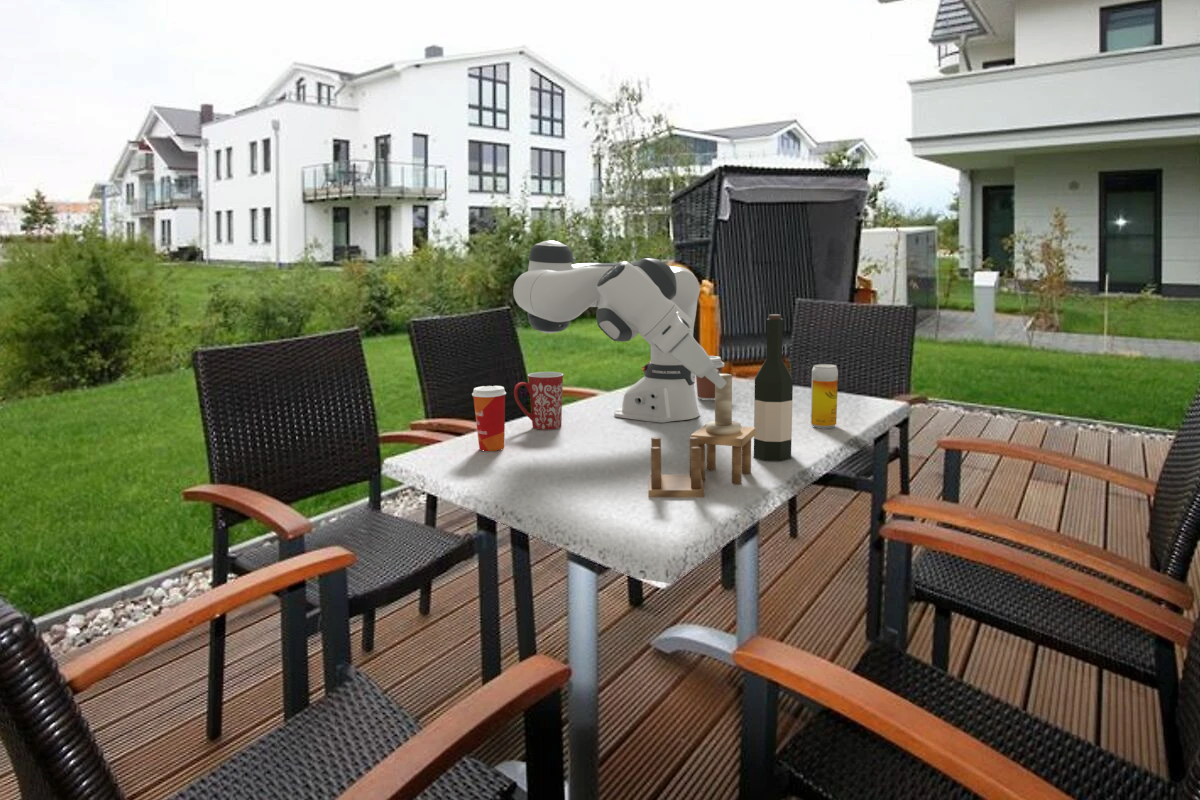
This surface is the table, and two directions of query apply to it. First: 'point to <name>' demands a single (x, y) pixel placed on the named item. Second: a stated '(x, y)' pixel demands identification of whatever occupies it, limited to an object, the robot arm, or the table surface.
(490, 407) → the paper cup
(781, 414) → the wine bottle
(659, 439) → the upturned stool
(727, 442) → the stool
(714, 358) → the coffee cup
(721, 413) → the ring stacker tower
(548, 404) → the mug
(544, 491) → the table surface
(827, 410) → the beer can
